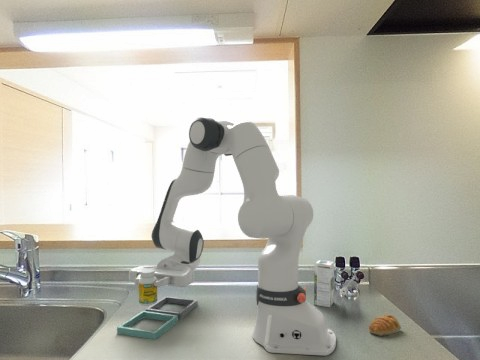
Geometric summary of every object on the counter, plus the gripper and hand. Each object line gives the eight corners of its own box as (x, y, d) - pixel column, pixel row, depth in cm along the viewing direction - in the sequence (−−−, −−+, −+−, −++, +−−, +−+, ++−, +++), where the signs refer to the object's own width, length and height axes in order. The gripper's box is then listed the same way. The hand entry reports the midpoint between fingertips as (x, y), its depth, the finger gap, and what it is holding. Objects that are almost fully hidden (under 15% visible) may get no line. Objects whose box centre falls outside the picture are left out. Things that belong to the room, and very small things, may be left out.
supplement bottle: (153, 298, 106) (153, 267, 106) (160, 303, 102) (159, 271, 102) (136, 301, 103) (136, 270, 103) (141, 307, 99) (141, 274, 99)
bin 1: (178, 321, 106) (177, 315, 106) (155, 339, 94) (155, 333, 94) (142, 316, 110) (142, 310, 110) (117, 333, 98) (117, 327, 98)
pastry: (384, 340, 93) (384, 326, 93) (362, 331, 99) (362, 318, 99) (402, 331, 99) (402, 317, 99) (380, 323, 104) (380, 310, 104)
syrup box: (317, 299, 124) (317, 259, 124) (334, 302, 121) (334, 261, 121) (313, 305, 119) (313, 263, 118) (331, 308, 116) (331, 265, 116)
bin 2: (197, 305, 120) (197, 300, 120) (180, 319, 108) (180, 313, 108) (165, 301, 124) (165, 296, 124) (145, 314, 112) (145, 309, 112)
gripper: (143, 258, 118) (116, 269, 105) (197, 263, 111) (176, 275, 98) (143, 277, 118) (116, 290, 105) (197, 283, 112) (176, 297, 98)
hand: (146, 283), depth 102 cm, fingers closed on supplement bottle, 5 cm apart
